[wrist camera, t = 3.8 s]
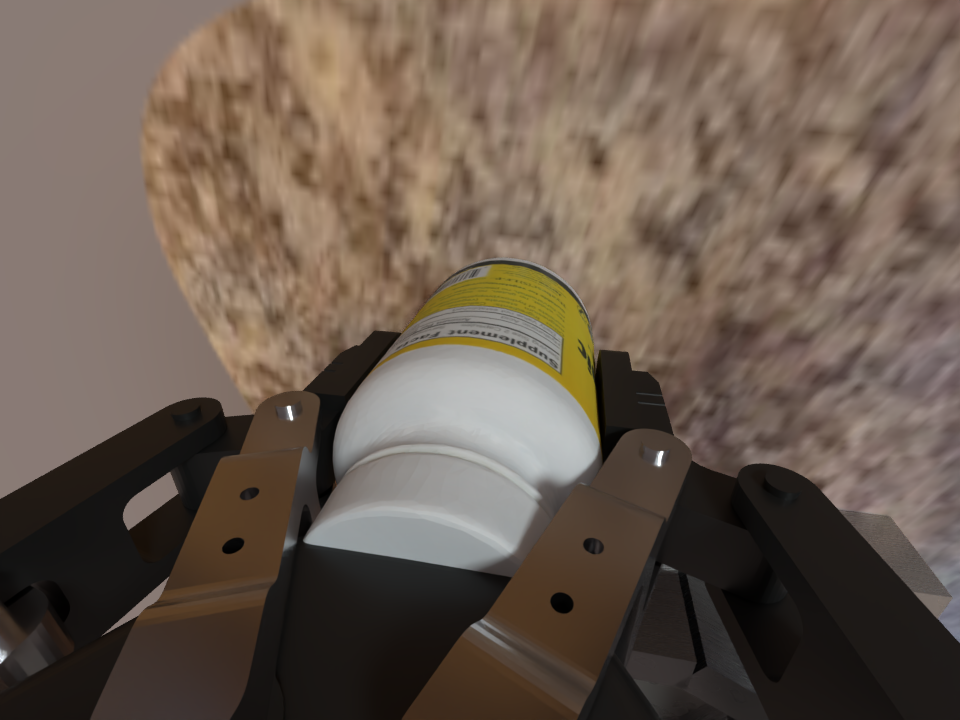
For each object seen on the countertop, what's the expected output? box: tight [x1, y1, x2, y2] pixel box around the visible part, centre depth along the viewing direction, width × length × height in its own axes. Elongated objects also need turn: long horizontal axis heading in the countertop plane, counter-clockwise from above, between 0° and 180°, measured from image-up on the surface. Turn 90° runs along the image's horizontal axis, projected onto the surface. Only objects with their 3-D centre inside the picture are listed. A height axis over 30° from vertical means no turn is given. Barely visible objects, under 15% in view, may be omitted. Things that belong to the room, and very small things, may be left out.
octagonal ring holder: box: [626, 510, 952, 720], centre depth 17 cm, size 14×11×6 cm
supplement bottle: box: [303, 258, 603, 577], centre depth 11 cm, size 5×5×10 cm
